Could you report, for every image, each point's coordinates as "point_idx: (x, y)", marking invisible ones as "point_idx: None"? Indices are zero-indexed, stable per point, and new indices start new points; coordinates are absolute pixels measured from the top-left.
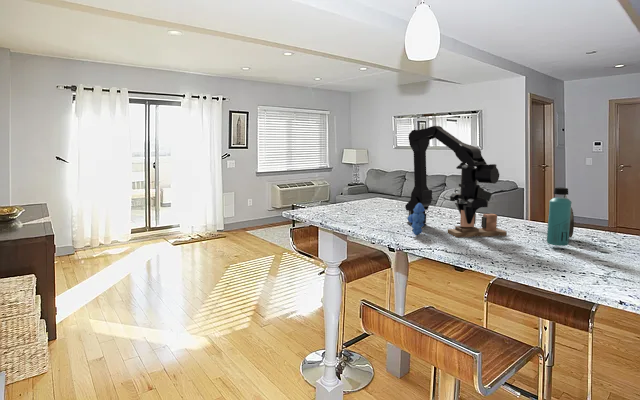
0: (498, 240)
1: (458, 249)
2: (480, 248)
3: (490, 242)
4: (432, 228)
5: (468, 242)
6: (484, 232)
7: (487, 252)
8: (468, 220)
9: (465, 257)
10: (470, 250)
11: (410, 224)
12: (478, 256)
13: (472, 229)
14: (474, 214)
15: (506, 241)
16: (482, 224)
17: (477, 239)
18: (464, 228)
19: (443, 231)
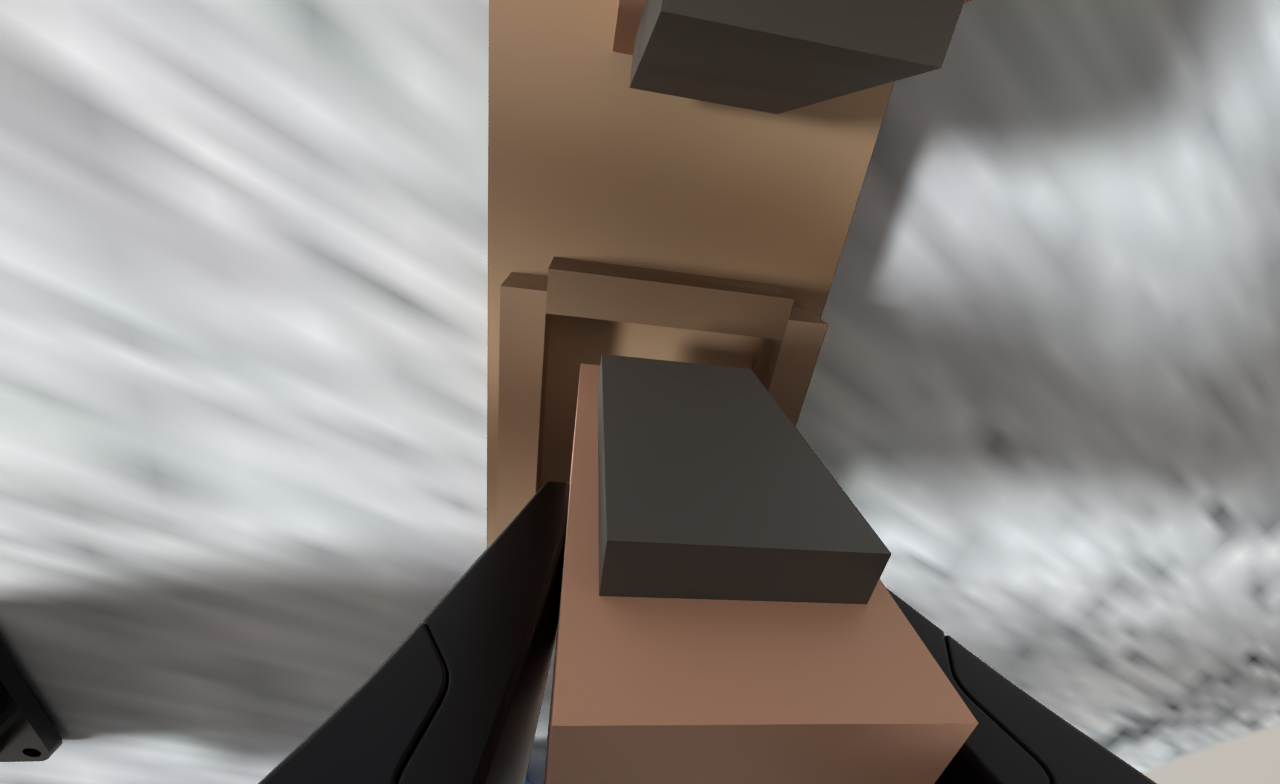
0: (1122, 173)
1: (1063, 703)
2: (1164, 572)
3: (1107, 359)
4: (185, 603)
5: (960, 561)
6: (852, 207)
7: (1269, 584)
8: None
9: (1207, 732)
10: (1139, 654)
11: (4, 756)
12: (1262, 672)
13: None
14: (877, 583)
15: (1242, 88)
16: (691, 84)
17: (917, 415)
18: (542, 415)
19: (393, 562)
